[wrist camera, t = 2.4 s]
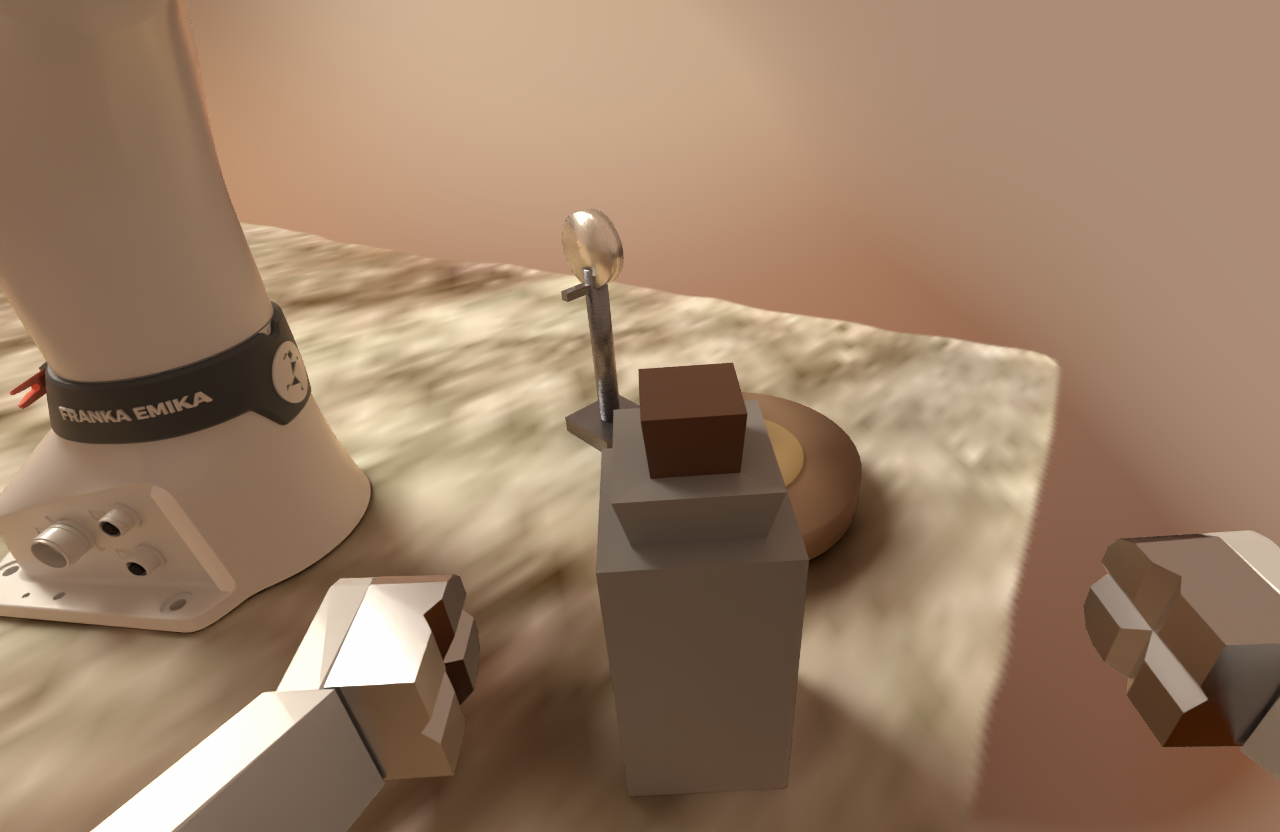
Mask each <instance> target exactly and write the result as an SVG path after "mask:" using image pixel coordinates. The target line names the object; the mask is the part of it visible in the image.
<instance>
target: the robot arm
mask: <svg viewBox="0 0 1280 832" xmlns="http://www.w3.org/2000/svg"><path fill="white" fill-rule="evenodd" d="M0 288H1V290H2V292H3V293H4V295H5V296H6V298H7V300H8V301H9V303H10V304H11V306H12V308H13V309H14V311H15V312H16V314H17V315H18V317H19V319H20V320H21V322H22V323H23V325H24V327H25V328H26V330H27V331H28V333H29V334H30V336H31V338H32V339H33V341H34V342H35V344H36V345H37V347H38V349H39V350H40V352H41V353H42V355H43V357H44V358H45V360H46V362H45V363H44V364H43V365H42V366H41V367H39V369H40V372H38V373H37V374H35V375H34V376H32V377H31V378H29V379H28V380H27V381H25V382H24V383H22V384H21V385H19V386H18V387H16V388H15V389H13V390H12V391H11V392H10V394H11V395H15V394H17V393H19V392H21V391H23V390H25V389H27V388H28V387H30V386H31V387H32V390H31V391H30V392H28V393H27V394H26V395H25V397H24V398H23V399H22V401H21V402H20V404H19V405H18V406H19V407H20V408H23V409H24V408H26V407H28V406H29V405H31V404H32V403H33V402H35V401H36V400H38V399H39V398H40V397H42V396H43V395H44V394H46V393H47V402H48V408H49V415H50V421H51V427H52V428H51V429H50V431H49V432H48V433H47V434H46V436H45V437H44V438H43V439H42V441H41V442H40V443H39V444H38V446H37V447H36V448H35V449H34V451H33V452H32V453H31V455H30V456H29V457H28V458H27V460H26V461H25V462H24V463H23V465H22V466H21V467H20V468H19V470H18V471H17V472H16V473H15V475H14V476H13V477H12V478H11V479H10V481H9V482H8V483H7V485H6V486H5V488H4V489H3V490H2V492H1V494H0V536H1V538H2V540H3V542H4V543H5V545H6V546H7V548H8V549H9V551H10V552H9V553H8V554H7V555H6V556H5V558H4V559H3V560H2V561H1V563H0V616H8V617H18V618H29V619H40V620H51V621H62V622H74V623H85V624H96V625H107V626H118V627H129V628H140V629H151V630H162V631H173V632H194V631H198V630H201V629H203V628H205V627H207V626H209V625H211V624H212V623H214V622H216V621H217V620H219V619H220V618H221V617H223V616H224V615H226V614H227V613H228V612H230V611H231V610H232V609H234V608H235V607H237V606H238V605H239V604H240V603H242V602H243V601H244V600H246V599H247V598H248V597H250V596H252V595H254V594H255V593H257V592H259V591H261V590H263V589H265V588H267V587H270V586H272V585H274V584H276V583H278V582H280V581H283V580H285V579H287V578H289V577H291V576H293V575H295V574H296V573H298V572H300V571H302V570H304V569H305V568H307V567H309V566H310V565H312V564H313V563H315V562H316V561H318V560H319V559H321V558H322V557H324V556H325V555H326V554H328V553H329V552H330V551H331V550H333V549H334V548H335V547H336V546H337V545H338V544H340V543H341V542H342V541H343V540H344V539H345V538H346V537H347V536H348V535H349V534H350V533H351V531H352V530H353V529H354V528H355V527H356V525H357V524H358V523H359V521H360V520H361V518H362V516H363V515H364V513H365V511H366V509H367V506H368V503H369V500H370V493H371V489H370V483H369V480H368V478H367V476H366V474H365V473H364V472H363V471H362V470H361V469H360V468H359V467H358V465H357V464H356V463H355V462H354V461H353V460H352V458H351V457H350V456H349V455H348V453H347V452H346V451H345V449H344V448H343V446H342V445H341V444H340V442H339V441H338V439H337V438H336V436H335V434H334V433H333V431H332V430H331V428H330V427H329V425H328V423H327V421H326V420H325V418H324V416H323V414H322V413H321V411H320V409H319V407H318V405H317V404H316V402H315V400H314V398H313V396H312V394H311V386H310V383H309V379H308V375H307V372H306V369H305V366H304V363H303V360H302V357H301V355H300V352H299V350H298V347H297V345H296V342H295V340H294V337H293V335H292V332H291V330H290V328H289V325H288V323H287V321H286V319H285V316H284V314H283V312H282V309H281V308H280V307H279V305H277V304H276V303H274V302H272V301H270V299H269V297H268V294H267V292H266V289H265V286H264V284H263V281H262V279H261V276H260V273H259V271H258V268H257V266H256V263H255V261H254V258H253V256H252V253H251V250H250V248H249V245H248V243H247V240H246V238H245V235H244V233H243V230H242V227H241V225H240V222H239V220H238V218H237V215H236V212H235V210H234V207H233V205H232V203H231V199H230V197H229V194H228V191H227V188H226V185H225V182H224V179H223V176H222V172H221V168H220V165H219V161H218V157H217V153H216V148H215V144H214V140H213V135H212V130H211V126H210V120H209V115H208V109H207V103H206V98H205V92H204V87H203V81H202V76H201V71H200V66H199V60H198V55H197V49H196V45H195V39H194V35H193V30H192V25H191V20H190V15H189V9H188V3H187V0H0ZM1101 562H1102V564H1103V565H1104V567H1105V569H1106V570H1107V572H1108V574H1107V575H1106V576H1104V577H1103V578H1101V579H1100V580H1099V581H1097V582H1096V583H1095V584H1093V585H1092V586H1091V587H1090V589H1089V592H1088V595H1087V598H1086V600H1085V603H1084V615H1085V626H1086V629H1087V632H1088V634H1089V637H1090V639H1091V642H1092V644H1093V646H1094V647H1095V649H1096V650H1097V652H1098V653H1099V655H1100V656H1101V658H1102V660H1103V661H1104V662H1105V663H1106V664H1108V665H1109V666H1111V667H1112V668H1114V669H1115V670H1117V671H1119V672H1120V673H1122V674H1123V675H1125V676H1126V677H1128V686H1127V696H1128V698H1129V699H1130V701H1131V702H1132V704H1133V705H1134V707H1135V708H1136V709H1137V711H1138V712H1139V714H1140V715H1141V717H1142V718H1143V720H1144V721H1145V723H1146V724H1147V725H1148V727H1149V728H1150V730H1151V731H1152V733H1153V734H1154V736H1155V737H1156V739H1157V740H1158V741H1159V743H1160V744H1161V746H1162V747H1219V746H1242V748H1241V749H1240V751H1242V752H1243V753H1244V754H1246V755H1247V756H1248V757H1250V758H1251V759H1252V760H1254V761H1255V762H1256V763H1258V764H1259V765H1260V766H1262V767H1263V768H1264V769H1266V770H1267V771H1268V772H1270V773H1271V774H1272V775H1274V776H1275V777H1276V778H1278V779H1279V780H1280V548H1279V547H1278V546H1277V545H1275V544H1274V543H1273V542H1272V541H1271V540H1270V539H1268V538H1267V537H1265V536H1263V535H1260V534H1258V533H1256V532H1254V531H1251V530H1250V531H1234V532H1217V533H1205V534H1183V535H1168V536H1153V537H1136V538H1120V539H1117V540H1116V541H1115V542H1113V543H1112V544H1111V545H1109V546H1108V547H1107V549H1106V552H1105V554H1104V556H1103V558H1102V560H1101ZM465 598H466V592H465V589H464V586H463V583H462V581H461V578H460V576H457V575H453V574H452V575H415V576H379V577H369V578H340V579H339V580H338V581H337V582H335V583H334V584H333V585H332V586H331V587H330V588H329V590H328V592H327V594H326V596H325V597H324V599H323V601H322V603H321V605H320V607H319V609H318V611H317V613H316V615H315V617H314V619H313V621H312V622H311V624H310V626H309V628H308V630H307V632H306V634H305V636H304V638H303V640H302V642H301V644H300V646H299V647H298V649H297V651H296V653H295V655H294V657H293V659H292V661H291V663H290V665H289V667H288V669H287V671H286V672H285V674H284V676H283V678H282V680H281V682H280V684H279V686H278V688H277V690H276V691H271V692H263V693H262V694H260V695H259V696H258V697H257V698H255V699H254V700H253V701H252V702H251V703H249V704H248V705H247V706H246V707H244V708H243V709H242V710H241V711H239V712H238V713H237V714H236V715H234V716H233V717H232V718H231V719H229V720H228V721H227V722H226V723H225V724H223V725H222V726H221V727H220V728H218V729H217V730H216V731H215V732H213V733H212V734H211V735H210V736H208V737H207V738H206V739H205V740H203V741H202V742H201V743H200V744H198V745H197V746H196V747H195V748H194V749H192V750H191V751H190V752H189V753H187V754H186V755H185V756H184V757H182V758H181V759H180V760H179V761H177V762H176V763H175V764H174V765H172V766H171V767H170V768H169V769H168V770H166V771H165V772H164V773H163V774H161V775H160V776H159V777H158V778H156V779H155V780H154V781H153V782H151V783H150V784H149V785H148V786H146V787H145V788H144V789H143V790H141V791H140V792H139V793H138V794H137V795H135V796H134V797H133V798H132V799H130V800H129V801H128V802H127V803H125V804H124V805H123V806H122V807H120V808H119V809H118V810H117V811H115V812H114V813H113V814H112V815H111V816H109V817H108V818H107V819H106V820H104V821H103V822H102V823H101V824H99V825H98V826H97V827H96V828H94V829H93V830H92V831H91V832H347V831H348V830H349V829H350V827H351V826H352V825H353V824H354V822H355V821H356V820H357V819H358V817H359V816H360V815H361V814H362V812H363V811H364V810H365V809H366V807H367V806H368V805H369V804H370V802H371V801H372V800H373V799H374V798H375V796H376V795H377V794H378V793H379V791H380V790H381V789H382V788H383V786H384V785H385V783H384V781H383V780H393V779H408V778H422V777H437V776H451V775H454V772H455V768H456V763H457V759H458V755H459V751H460V747H461V743H462V739H463V735H464V730H465V726H466V722H465V719H464V716H463V713H462V710H461V708H460V705H461V704H462V703H463V702H464V701H465V700H466V699H467V697H468V696H469V695H470V694H471V693H472V692H473V691H474V688H475V683H476V679H477V674H478V668H479V651H480V645H479V637H478V630H477V626H476V623H475V620H474V617H472V616H471V615H470V614H468V613H467V612H465V611H464V610H463V609H462V608H463V605H464V601H465Z"/></svg>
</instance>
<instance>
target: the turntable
mask: <svg viewBox="0 0 1280 832" xmlns="http://www.w3.org/2000/svg"><path fill="white" fill-rule="evenodd" d="M741 393H742V396H743V400H744V401H749V400H758V404H759V407H760V410H761V413H762V416H763V419H764V422H765V425H766V428H767V432H768V435H769V438H770V440H771V443H772V446H773V449H774V452H775V455H776V458H777V462H778V465H779V468H780V471H781V474H782V477H783V480H784V483H785V486H786V490H787V493H788V496H789V499H790V502H791V505H792V508H793V511H794V514H795V517H796V521H797V524H798V527H799V530H800V533H801V536H802V539H803V542H804V545H805V549H806V552H807V555H808V558H809V560H811V559H813V558H815V557H817V556H819V555H820V554H822V553H823V552H825V551H826V550H828V549H829V548H831V547H832V546H833V545H834V544H835V543H836V542H837V541H838V540H839V539H840V538H842V536H843V535H844V534H845V532H846V531H847V530H848V528H849V527H850V525H851V523H852V521H853V519H854V516H855V512H856V508H857V502H858V495H859V488H860V481H861V461H860V456H859V454H858V451H857V449H856V446H855V445H854V443H853V442H852V440H851V439H850V437H849V436H848V435H847V434H846V433H845V432H844V431H843V430H842V429H841V428H840V427H839V426H838V425H837V424H835V423H834V422H833V421H832V420H830V419H829V418H827V417H826V416H824V415H822V414H821V413H819V412H817V411H815V410H813V409H811V408H809V407H806V406H804V405H801V404H799V403H796V402H793V401H790V400H786V399H783V398H778V397H774V396H769V395H763V394H756V393H745V392H741ZM612 448H613V447H612Z"/></svg>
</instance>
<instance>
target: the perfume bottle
mask: <svg viewBox="0 0 1280 832" xmlns="http://www.w3.org/2000/svg"><path fill="white" fill-rule="evenodd" d="M639 395H640V408H632V409H617V410H613V448H609V449H602V460H601V481H600V502H599V523H598V543H597V564H596V576H597V583H598V590H599V597H600V603H601V610H602V617H603V624H604V631H605V638H606V644H607V651H608V658H609V665H610V672H611V679H612V685H613V692H614V699H615V706H616V713H617V719H618V726H619V733H620V740H621V747H622V754H623V760H624V767H625V774H626V781H627V788H628V795H629V797H633V796H651V795H669V794H686V793H704V792H722V791H740V790H757V789H775V788H787V781H788V771H789V761H790V751H791V740H792V730H793V720H794V710H795V699H796V689H797V679H798V668H799V658H800V648H801V638H802V627H803V617H804V607H805V597H806V586H807V576H808V566H809V558H808V555H807V552H806V549H805V545H804V542H803V539H802V536H801V533H800V530H799V527H798V524H797V521H796V517H795V514H794V511H793V508H792V505H791V502H790V499H789V496H788V493H787V490H786V486H785V483H784V480H783V477H782V474H781V471H780V468H779V465H778V462H777V458H776V455H775V452H774V449H773V446H772V443H771V440H770V438H769V435H768V432H767V428H766V425H765V422H764V419H763V416H762V413H761V410H760V407H759V404H758V400H749V401H744V400H743V396H742V393H741V389H740V386H739V382H738V379H737V375H736V372H735V368H734V365H733V363H722V364H707V365H693V366H678V367H664V368H650V369H639Z"/></svg>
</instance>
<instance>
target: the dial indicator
mask: <svg viewBox="0 0 1280 832" xmlns="http://www.w3.org/2000/svg"><path fill="white" fill-rule="evenodd" d="M562 244H563V250H564V253H565V257H566V260H567V262H568V264H569V266H570V268H571V270H572V272H573V273H574V275H575V276H576V277H577V278H578V279H579V280H580V281H581V282H582V284H579V285H576V286H574V287H571V288H569V289H566V290H563V291H561V293H562V300H564V301H567V302H569V301H572V300H574V299H577V298H579V297H582V296H584V295H586V304H587V312H588V320H589V328H590V337H591V345H592V353H593V362H594V370H595V378H596V387H597V395H598V401H596V402H594V403H592V404H590V405H589V406H587V407H585V408H583V409H581V410H579V411H577V412H575V413H573V414H571V415H569V416H567V417H565V418H566V425H567V430H568V431H570V432H571V433H573V434H574V435H576V436H578V437H579V438H581V439H582V440H584V441H586V442H587V443H589V444H590V445H592V446H594V447H595V448H597V449H598V450H600V451H602V449H609V448H612V447H613V410H617V409H632V408H640V406H639V405H637V404H635V403H633V402H631V401H629V400H628V399H626V398H624V397H622V396H620V395H619V393H618V383H617V373H616V363H615V353H614V343H613V333H612V323H611V313H610V303H609V293H608V283H611V282H614V281H615V280H616V279H617V278H618V277H619V276H620V274H621V272H622V268H623V259H624V257H623V248H622V244H621V240H620V237H619V235H618V232H617V230H616V229H615V227H614V225H613V224H612V222H611V221H610V219H609V218H608V217H607V216H606V215H605V214H603V213H602V212H601V211H599V210H596V209H587V210H583V211H580V212H577V213H574V214H571V215H570V216H568V217H567V219H566V220H565V222H564V225H563V229H562Z"/></svg>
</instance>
